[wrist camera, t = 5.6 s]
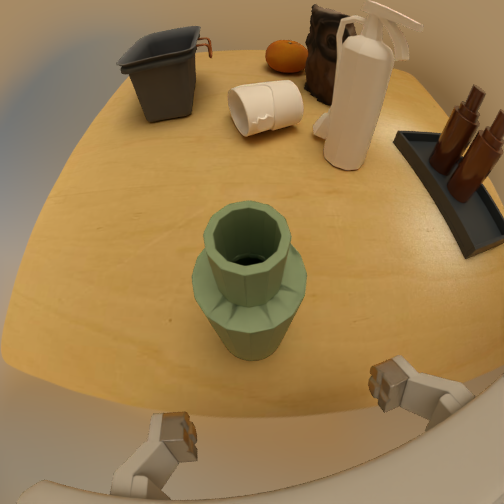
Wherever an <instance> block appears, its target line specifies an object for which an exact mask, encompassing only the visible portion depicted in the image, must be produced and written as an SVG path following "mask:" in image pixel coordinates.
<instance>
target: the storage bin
mask: <svg viewBox="0 0 504 504" xmlns="http://www.w3.org/2000/svg"><path fill="white" fill-rule="evenodd" d="M200 28H201V27H199V26H191V27H183V28H177V29H172V30H167V31H162V32H157V33H153V34H149V35H147V36H144V37H142V38H141V39H139V40H138V41H137V42H136V43H135V44H134V45H133V46H132V47H131V48H130V49H129V50H128V51H127V52H126V53H125V54H124V55H123V56H122V57H121V58H120V59H119V61H118V62H117V65H119V66H122V67H121V73H122V74H129V76H130V79H131V81H132V84H133V86H134V89H135V91H136V94H137V96H138V99H139V101H140V104H141V107H142V109H143V112H144V114H145V117H146V119H147V121H149V122H154V121H159V120H164V119H170V118H176V117H182V116H187V115H189V114H190V113H191V112H192V104H193V96H194V89H195V83H196V72H195V52H196V50H197V47H198V46H204V45H205V46H207V47H208V52H209V58H212V47H211V40H210V39H209V38H199V37H200V34H199V33H200ZM203 39H207V40H208V43H209V45H208V44H206V43H205V44H198V45H196V43H197V40H203Z"/></svg>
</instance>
